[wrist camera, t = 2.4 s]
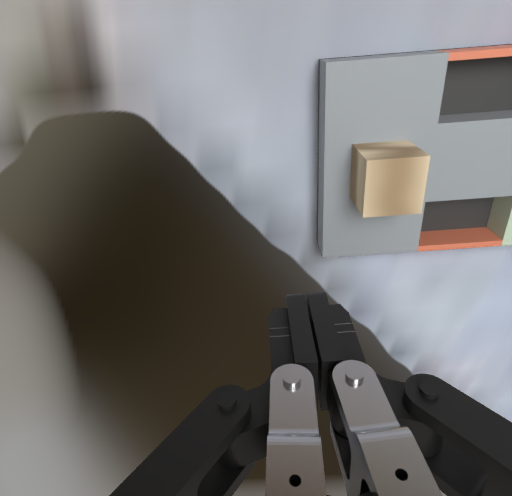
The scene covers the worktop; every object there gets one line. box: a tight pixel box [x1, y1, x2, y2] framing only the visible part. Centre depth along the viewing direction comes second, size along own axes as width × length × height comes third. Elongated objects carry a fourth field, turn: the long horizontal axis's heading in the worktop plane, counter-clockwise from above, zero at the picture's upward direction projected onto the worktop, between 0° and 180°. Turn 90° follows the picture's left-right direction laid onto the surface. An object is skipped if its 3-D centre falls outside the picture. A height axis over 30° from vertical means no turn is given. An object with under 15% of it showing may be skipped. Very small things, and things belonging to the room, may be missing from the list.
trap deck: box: [317, 44, 512, 258], centre depth 29 cm, size 20×15×6 cm
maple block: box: [349, 140, 430, 218], centre depth 27 cm, size 4×4×4 cm
